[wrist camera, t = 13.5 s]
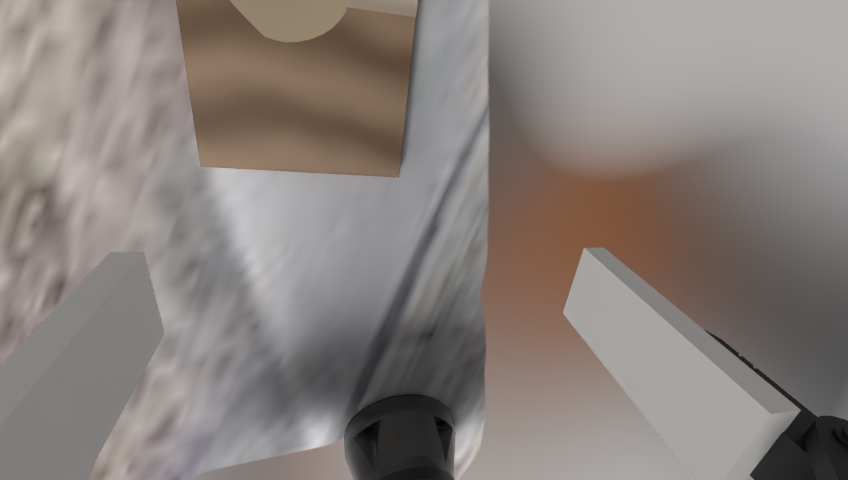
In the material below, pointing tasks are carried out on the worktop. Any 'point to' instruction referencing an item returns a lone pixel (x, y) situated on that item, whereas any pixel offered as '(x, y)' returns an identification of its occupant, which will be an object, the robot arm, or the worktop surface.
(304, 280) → the worktop surface
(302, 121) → the board
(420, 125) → the worktop surface
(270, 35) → the handle
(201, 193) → the worktop surface
